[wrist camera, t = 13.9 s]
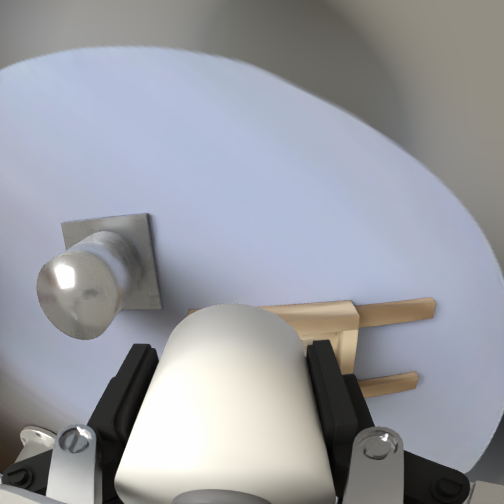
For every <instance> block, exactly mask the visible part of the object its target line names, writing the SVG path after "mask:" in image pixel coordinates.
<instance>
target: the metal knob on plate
mask: <svg viewBox="0 0 504 504" xmlns="http://www.w3.org/2000/svg"><path fill="white" fill-rule="evenodd" d="M61 226H62V231H63V236H64V242H65V246H66V251H64V252H63V253H61V254H60V255H58V256H56V257H55V258H53V259H52V260H50V261H49V262H47V263H46V264H45V265H44V266H43V267H42V269H41V271H40V273H39V275H38V279H37V295H38V299H39V302H40V305H41V307H42V309H43V311H44V313H45V315H46V316H47V318H48V319H49V320H50V321H51V323H52V324H53V325H54V326H55V327H56V328H58V329H59V330H60V331H61V332H63V333H64V334H66V335H68V336H70V337H73V338H76V339H81V340H90V339H94V338H97V337H98V336H100V335H101V334H103V332H104V331H105V330H106V329H107V327H108V326H109V325H110V323H111V322H112V321H113V319H114V318H115V317H116V315H117V314H118V313H119V311H120V310H158V309H162V307H163V305H162V300H161V295H160V289H159V284H158V278H157V273H156V267H155V261H154V254H153V248H152V242H151V235H150V228H149V221H148V213H142V214H132V215H122V216H112V217H103V218H94V219H86V220H78V221H69V222H63V223H61Z"/></svg>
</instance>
